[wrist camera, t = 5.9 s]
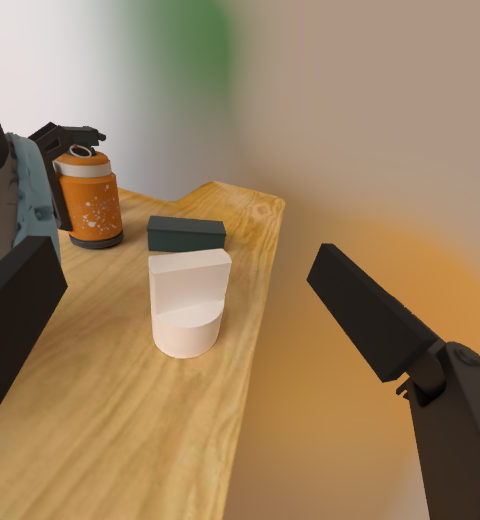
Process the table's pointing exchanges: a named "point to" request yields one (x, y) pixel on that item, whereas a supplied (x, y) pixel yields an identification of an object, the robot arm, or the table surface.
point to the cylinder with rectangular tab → (188, 300)
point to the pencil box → (184, 234)
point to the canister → (80, 185)
